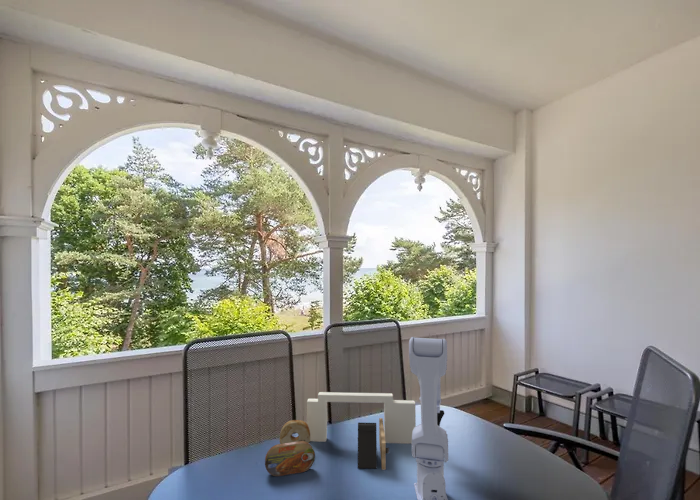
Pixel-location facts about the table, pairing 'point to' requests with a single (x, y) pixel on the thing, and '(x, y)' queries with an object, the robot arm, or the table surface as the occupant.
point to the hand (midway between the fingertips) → (432, 426)
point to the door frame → (395, 411)
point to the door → (382, 444)
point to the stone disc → (294, 427)
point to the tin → (289, 458)
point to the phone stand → (367, 446)
